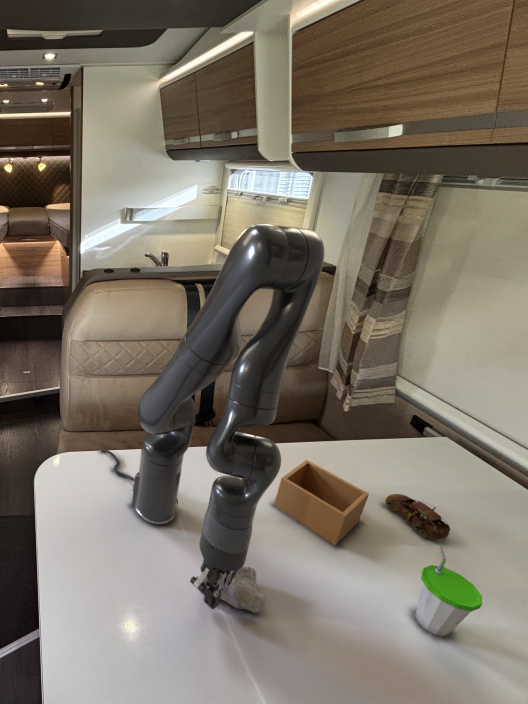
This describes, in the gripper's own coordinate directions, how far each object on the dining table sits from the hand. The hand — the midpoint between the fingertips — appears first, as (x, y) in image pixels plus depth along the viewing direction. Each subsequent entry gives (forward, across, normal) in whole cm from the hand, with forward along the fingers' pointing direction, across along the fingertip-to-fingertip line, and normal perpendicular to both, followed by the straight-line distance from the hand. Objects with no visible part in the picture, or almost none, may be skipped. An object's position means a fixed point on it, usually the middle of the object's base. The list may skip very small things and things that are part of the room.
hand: (210, 603), depth 80 cm
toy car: (+1, -59, +12) cm, 60 cm away
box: (+1, -41, -1) cm, 41 cm away
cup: (+2, -33, +23) cm, 40 cm away
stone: (+2, -6, 0) cm, 7 cm away
